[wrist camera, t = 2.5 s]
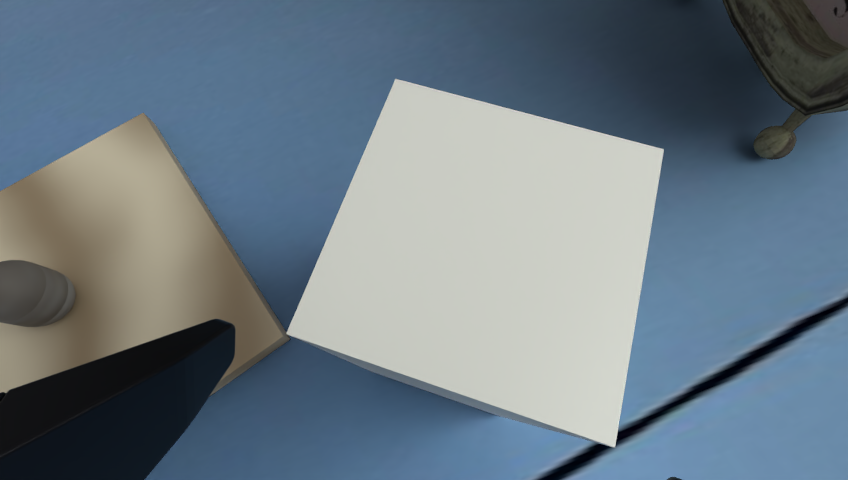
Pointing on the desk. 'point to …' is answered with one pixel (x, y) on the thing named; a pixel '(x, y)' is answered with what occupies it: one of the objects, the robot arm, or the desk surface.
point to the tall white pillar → (489, 261)
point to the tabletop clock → (796, 59)
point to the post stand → (117, 261)
